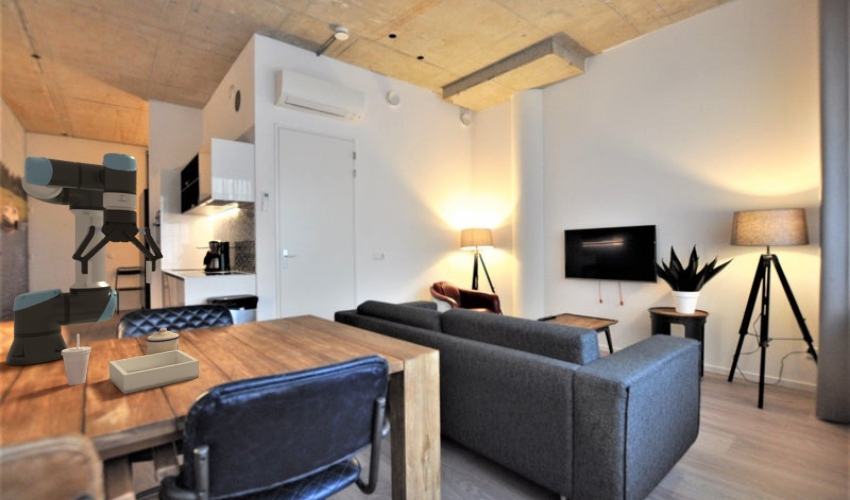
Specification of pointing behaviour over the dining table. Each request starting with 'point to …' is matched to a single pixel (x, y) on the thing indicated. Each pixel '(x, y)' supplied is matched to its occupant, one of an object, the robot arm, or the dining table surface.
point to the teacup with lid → (162, 342)
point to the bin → (152, 370)
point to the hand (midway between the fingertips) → (120, 284)
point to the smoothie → (76, 363)
